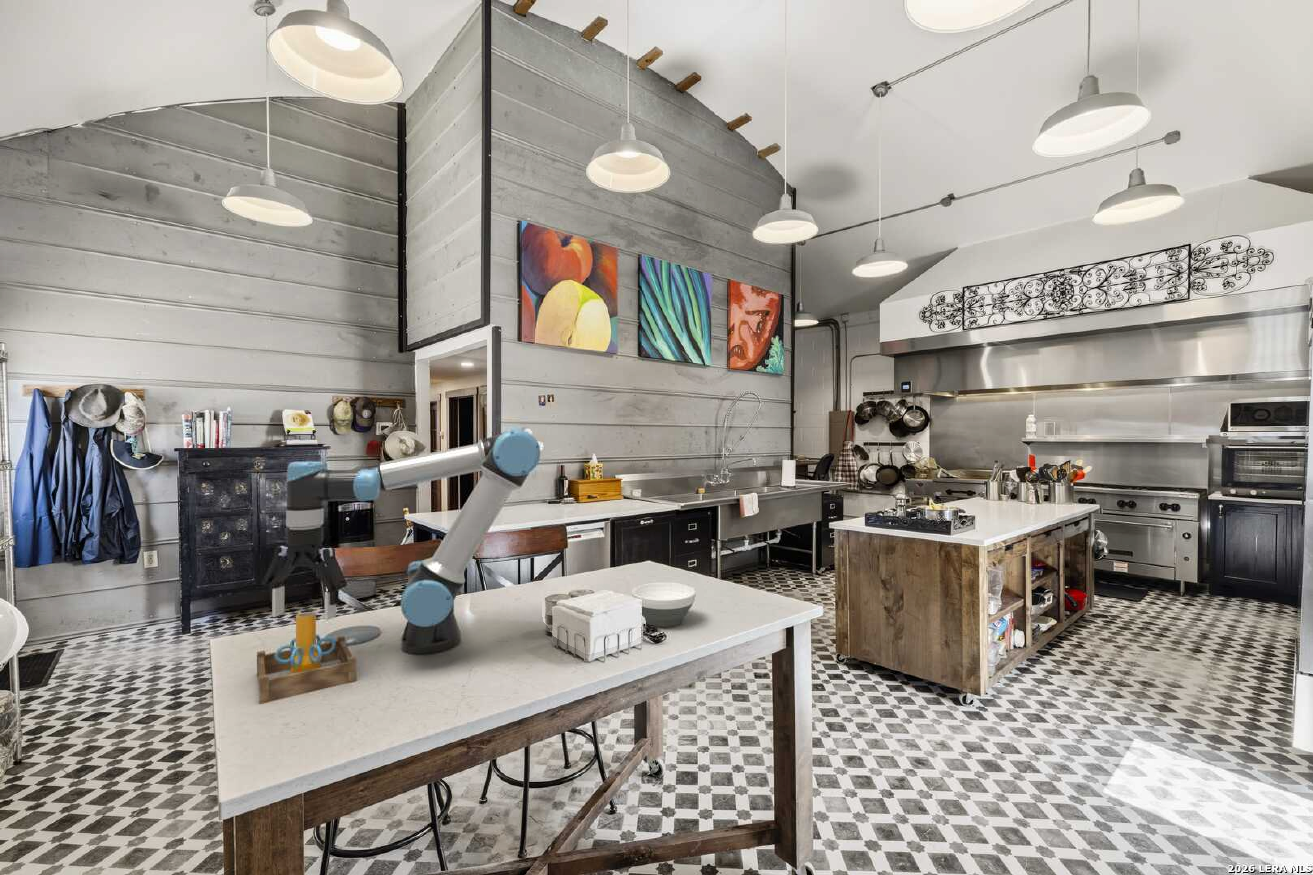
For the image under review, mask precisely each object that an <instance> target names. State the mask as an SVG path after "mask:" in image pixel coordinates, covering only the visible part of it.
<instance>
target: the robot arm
mask: <svg viewBox="0 0 1313 875" xmlns="http://www.w3.org/2000/svg"><path fill="white" fill-rule="evenodd" d="M540 459H541V447H540V444H539V442H538V440H537V438H536V437H534V435H533V434H532V433H530V432H529V431H526V430H524V429H521V428H513V429H509V430H506V431H503V432H501V433H498V434H497V435H493V436H491V437H487V438H481V439H479V441H478V442H477V443H474V444H468V445H463V446H459V447H454V448H448V449H442V450H440V451H434V452H429V453H423V454H420V455H415V456H414V455H413V456H408V457H405V458H399V459H395V460H390V461H385V462H384V461H382V462H379V463H373V464H369V465H361V466H357V467H355V468H352V469H326V467H325V463H324V462H323V461H309V460H308V461H293V462H290V463H289V464H288V465H287V472H286V473H287V474H286V481H285V484H286V510H285V516H286V518H285V526H286V527H287V528H286V531H285V544H286V545H280V546H276V547H274V554H273V558H272V560H271V562H270V564H269V566H268V568H267V570H266V572H265V575H264V577H263V579H262V581H261V585H262V586H267V587H268V588H269V589H270V590H269V591H270V592H269V593H270V594H269V596H270V597H269V599H270V602H272V604H271V606H272V609H271V610H272V611H271V612H272V613H271V616H272V617H273V618H276V617H279V616H281V615H283V614H285V588H286V587H285V585H284V582H285V580H287V578H288V577H289V575H291V573H292V572H293V570H294V569H296V568H300V567H302V568H309V569H310V570H313V571H314V573H315V574H316V575H317V577H318V579H319V580H320V581H321V582H322V584H323V585H324V587H325V588H326V589H327V591H325V592H324V621H329V620H331V619H333V618H336V616H337V615H336V614H337V604H339V592H340V590H341V589H343V588H346V587H347V586H348V583H347V580H346V578H345V576H344V574H343V571H342V569H341V566H340V565H339V561H338V559H337V558H336V549H335V547H329V548H323V547H322V544H323V541H324V527H323V526H322V525H324V510H325V509H324V508H325V502H341V501H343V502H345V501H346V502H353V501H354V502H356V501H357V502H358V501H359V502H365V501H375V500H377V499H378V498H379V497H380V493H382V492H385V491H389V490H394V489H399V488H403V487H407V486H413V485H418V484H422V483H423V484H424V483H428V482H432V481H438V480H444V479H446V478H447V479H448V478H452V477H456V476H462V475H467V474H472V473H475V472H480V471H481V472H482V475H481V477H480V479H479V480H478V481H477V484H476V485H475V486H474V488H473V490H472V491H471V493H470V495H469V496H468V498H467V500H466V502H465V503H464V504H463V506H462V508H461V509H460V512H459V513H458V514H457V515H456V518H455V519H454V521H453V523H452V524H451V526H450V527H449V529H448V531H447V532H446V534H445V536H444V537H443V540H442V541H441V543H440V544H439V546H438V547H437V549H436V550H435V552H434V553H433V556H432V557H429V558H425V559H423V560H414V561H412V562H410V563H409V564H408V565H407V566H408V568H407V569H408V570H407V572H406V573H407V585H406V586H405V589H404V591H403V593H402V594H401V599H400V609H401V613H402V615H403V617H404V618H405V620H406V621H407V622H406V624H405V627H404V630H403V633H402V636H401V642H400V648H401V650H402V652H405V653H407V654H413V655H428V654H435V653H440V652H444V651H447V650H449V649H452V648H454V647H456V646H457V645H459V644H460V643H461V638H462V637H461V634H462V633H461V630H460V626H459V625H458V624H459V623H458V620H457V618H456V615H455V609H454V607H455V606H454V605H455V604H454V603H455V602H454V601H455V599H456V598H457V595H458V594H459V593H460V590H462V587H463V585H464V584H465V582H466V578H465V575H464V573H465V571H466V569H467V567H468V566H469V564H470V562H471V560H472V559H473V558H474V556H475V553H476V552H477V550H478V549H479V547H480V545H481V544H482V541H484V538H485V537H486V535H487V533H488V532H489V530H490V529H491V527H492V526H493V523H494V521H495V520H496V518H497V517H498V515H499V514H500V512H501V511H502V508H503V507H504V505H505V503H506V502H507V500H508V499H509V497H510V495H511V493H512V492H513V491H515V490H518V489H521V488H522V486H523V484H524V483H525V481H526V480H527V478H528V476H529V474H530V473H531V472H532V471H534V469H536V467H537V466H538V464H539V463H540V462H539V461H540ZM287 557H288V559H287V560H286V558H287ZM285 560H286V561H285ZM282 566H283V567H282Z"/></svg>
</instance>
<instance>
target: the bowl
mask: <svg viewBox="0 0 1313 875" xmlns="http://www.w3.org/2000/svg"><path fill="white" fill-rule="evenodd" d="M696 592H697V591H696V589H695V588H694V587H692V586H689V585H686V584H684V583H683V584H682V583H678V582H677V583H676V582H652V583H645V584H641V585H638V586H635V587H634V588H632V592H631V595H632V598H633V597H634V598H638V599H641V600H642V614H641V616H642V617H643V618H644V619H645V622H646V624H648V625H650V626H653V627H656V628H672V627H676V626H678V625H681V623H683V620H684V618H685V617H686V616H687V615H688V613H689V610H690V609H691V608H692V606H693V605H694V602H695V600H696V599H695V598H696V594H697V593H696Z"/></svg>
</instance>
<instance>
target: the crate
mask: <svg viewBox="0 0 1313 875" xmlns="http://www.w3.org/2000/svg"><path fill="white" fill-rule="evenodd" d="M335 644H336V645H335V648H334V650H333V651H332V652H331V653H330V654H327V655H322V658H321V663H326V662H330V661H335V660H340V663H335V664H331V665H327V666H321V668H317V669H312V670H307V671H303V672H298V673H294V674H291V673H290V674H286V675H285V674H284V675H280V676H276V677H272V678H271V677H270V676H269V674H274V673H278V672H279V673H280V672H283V671H287V670H291V662H288V663H284V664H282V663H279V662H277V661H276V659H275V653H276V651H275V652H269V653H266V650H260V651H257V652H256V677H257V679H258V687H259V688H258V690H259V692H258V694H259V695H258V696H259V697H258V698H259V701H258V702H259V705H261V704H264V703H269V702H272V701H277V700H281V699H285V698H289V697H292V696H294V697H295V696H297V695H302V694H306V693H310V692H314V691H318V690H319V691H320V690H323V689H326V688H331V687H334V686H335V687H336V686H339V685H344V684H349V683H354V682H357V657H356V655H352V653H351V651H350V649H349V648H348V646H347V645H346V644H345V636H344V635H343V636H338V637H337V640H336V641H335ZM331 647H332V643H331V642H326V643H325V642H322V643H321V644H320V648H321V651H322V652H326V651H328V650H330V649H331ZM291 654H292V652H291V649H290V648H289V649H284V650H281V651H280V653H279V658H280V659H282V660H287V659H289V658H290V657H291Z"/></svg>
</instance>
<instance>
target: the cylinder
mask: <svg viewBox="0 0 1313 875" xmlns="http://www.w3.org/2000/svg"><path fill="white" fill-rule="evenodd" d="M316 628H317V612H315V611H307V612H301V613H298V614H296V615H295V637H294V638H292V639H291V641H290V644H283V645H281V646H280V647H279V648H277V650H276V651H275V652H276V653H275V652H274V653H275V659H276V661H277V662H279V663H282V664H284V663H288V662H291V669H290V674H294V673H298V672H303V671H307V670H312V669H317V668H321V667H322V662H321V658H322V655H327V654H330V653H331V652H332V651H333V650H334V648H335V645H336V644H335V641H334V639H332V638H330V637H323V638H321V637H320V635H319V634H317V629H316ZM325 641H330V642H331V643H332V647H331V649H330V650H328V651H326V652H322V651H321V648H320V644H321V643H324V642H325ZM286 649H289V650H290V649H291V652H292V654H291V657H290V658H289V659H287V660H282V659H280V658H279V653H280V651H284V650H286Z"/></svg>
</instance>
